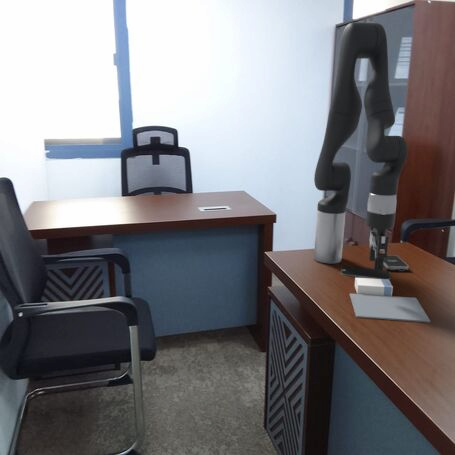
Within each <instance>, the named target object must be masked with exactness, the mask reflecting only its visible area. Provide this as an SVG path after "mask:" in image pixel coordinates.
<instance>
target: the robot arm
mask: <svg viewBox="0 0 455 455" xmlns="http://www.w3.org/2000/svg"><path fill="white" fill-rule="evenodd" d="M387 39H388V38H387V33H386V29H385V28H384V26H383V25H382V24H380V23H377V22H360V21H359V22H358V21H356V22H349V23H348V24H346V26H345V28H344V30H343V32H342V35H341V39H340V45H339V52H338V53H339V54H338V62H337V70H336V71H337V72H336V77H335V78H336V79H335V83H334V88H333V93H332V94H333V95H332V98H331V103H330V107H329V111H328V116H327V121H326V128H325V132H324V138H323V143H322V145H321V149H320V153H319V155H318V159H317V162H316V166H315V167H316V168H315V171H314V178H313V179H314V180H313V182H314V186H315V189H316V190H318V191H321V192H329V191H330V192H332V193H331V194H330V195H329V196H327V197H325V198H323V199H320V200H319V201H318V203H317V210H316V211H317V212H316V222H315V223H316V225H315V238H314V240H315V241H314V253H313V259H314V260H315V261H316V262H318V263H322V264H327V265H328V264H329V265H330V264H331V265H332V264H339V263H341V262H342V258H343V246H344V234H345V233H344V232H345V221H346V210H347V206H348V202H349V194H350V188H351V183H352V182H351V181H352V171H351V167H350V165H349V164H348V163H347V162H342V161H340V162H339V161H335V157H336V155H337V153H338V152H339V150H340V149H341V148H342V146H344V145H345V144H346V142H347V141H348V140H349V139H350V138H351V137H352V136H353V134H354V133H355V132H356V130H357V128H358V126H359V124H360V123H359V122H360V118H361V114H362V110H363V108H364V110H365V116H366V121H367V132H366V133H367V134H366V145H365V147H366V149H365V151H366V154H367V157H368V158H369V160H370V161H371V162H372V163H376V164H378V163H379V164H381V163H384V164H383V167H382V168H380V169H379V170H377V171H374V172H373V173H371V176H370V182H369V183H370V184H369V193H368V198H367V204H366V214H365V215H366V217H365V225H366V226H367V227H368V228H369V237H368V238H369V239H368V244H369V259H368V260H369V262H374V266H373V269H374V270H375V271H383V270H384V267H383V263H384V258H387V255H388V244H389V238H390V237H389V236H388V234H387V233H386V231H387V230H390V229H393V228H394V227H395V222H396V213H397V212H396V211H397V210H396V209H397V194H398V193H397V192H398V184H399V182H398V180H399V178H400V175H401V173H402V170H403V168H404V166H405V162H406V160H407V156H408V153H409V147H408V143H407V140H406V139H405V138H404V137H403V136H400V135H385V130H387V129H389V128H391V127H393V126H394V125H395V122H396V116H395V112H394V108H393V107H394V106H393V102H392V97H391V91H390V78H389V56H388V40H387ZM358 59H360V60H361V59H365V60H366V59H367V60H368V59H369V61H370V66H371V74H370V75H371V76H370V79H369V81H368V84H367V87H366V89H365V91H364V92H365V93H364V96H363V97H364V98H363V102H362V98H361V94H360V92H359V89H358V87H357V83H356V80H355V79H356V78H355V71H356V70H355V69H356V64H357V60H358ZM363 106H364V107H363ZM380 251H382V253H380Z"/></svg>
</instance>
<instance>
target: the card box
mask: <svg viewBox="0 0 455 455" xmlns="http://www.w3.org/2000/svg"><path fill="white" fill-rule="evenodd" d="M354 289H355V291H356V294H366V295H381V296H393V290H394V286H393V285H392V283H391V280H388V279H373V278H364V277H355V278H354Z"/></svg>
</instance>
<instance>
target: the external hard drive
mask: <svg viewBox="0 0 455 455" xmlns="http://www.w3.org/2000/svg"><path fill="white" fill-rule="evenodd" d="M409 267H410V266H409V265H408V264H407V263H406V262H405V261H404V260H403V259H402V258H400V256H398V255H394V254H393V255H391V254H389V255H388V254H387V258H384V263H383V269H384V270H386V271H389V272H408V271H409Z"/></svg>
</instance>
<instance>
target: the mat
mask: <svg viewBox="0 0 455 455" xmlns="http://www.w3.org/2000/svg"><path fill="white" fill-rule="evenodd" d="M349 297H350V301H351V304H352V308H353V311H354V314H355V318H363V319H375V320H391V321H403V322H419V323H431V320H430V318H429V317H428V315H427V313H426V311H425V310H424V308H423V307H422V305H421V303H420V301H419V300H418V299H417V297H408V296H397V295H396V296H395V295H394V296H393V295H392V296H382V295H367V294H357V293H349Z"/></svg>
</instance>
